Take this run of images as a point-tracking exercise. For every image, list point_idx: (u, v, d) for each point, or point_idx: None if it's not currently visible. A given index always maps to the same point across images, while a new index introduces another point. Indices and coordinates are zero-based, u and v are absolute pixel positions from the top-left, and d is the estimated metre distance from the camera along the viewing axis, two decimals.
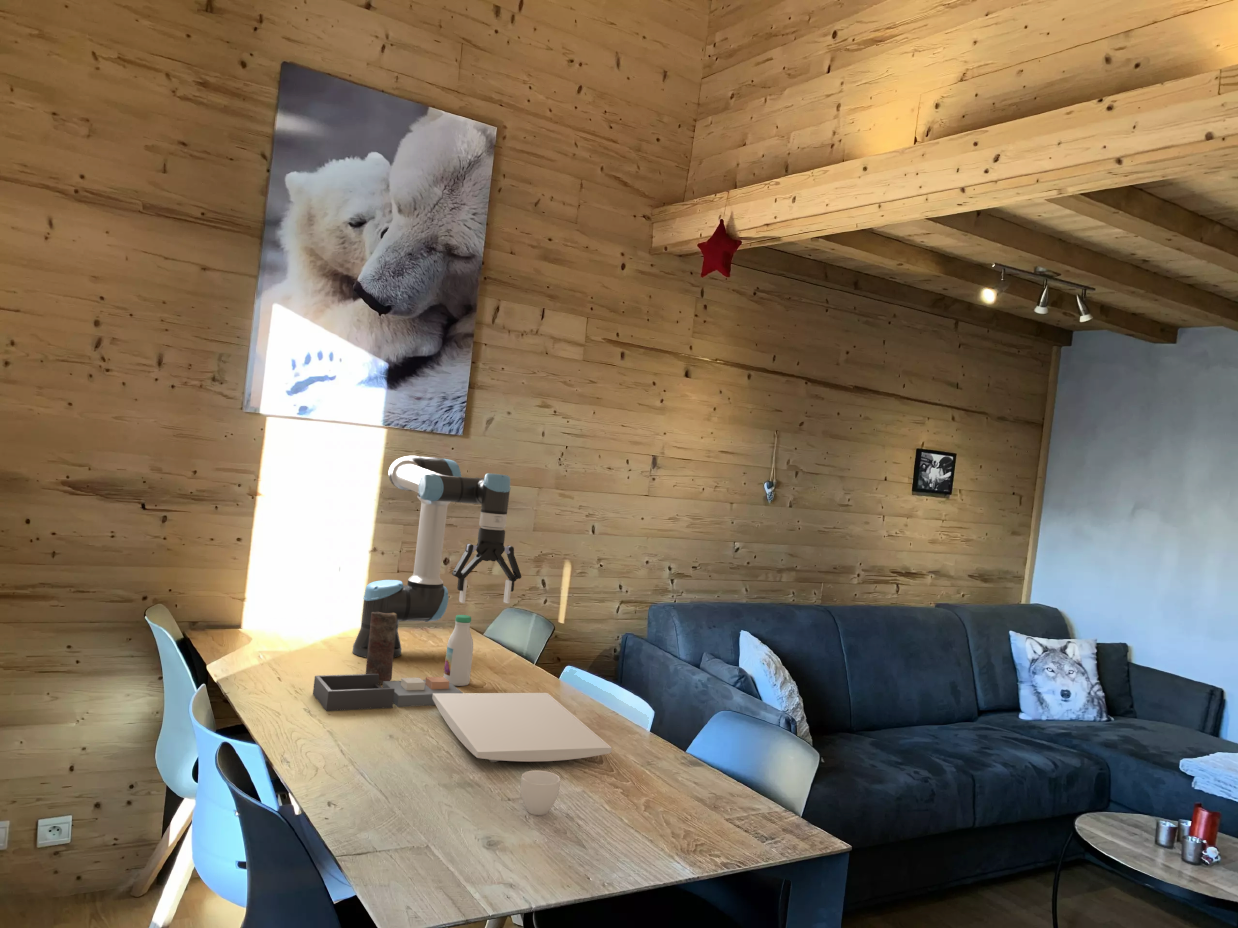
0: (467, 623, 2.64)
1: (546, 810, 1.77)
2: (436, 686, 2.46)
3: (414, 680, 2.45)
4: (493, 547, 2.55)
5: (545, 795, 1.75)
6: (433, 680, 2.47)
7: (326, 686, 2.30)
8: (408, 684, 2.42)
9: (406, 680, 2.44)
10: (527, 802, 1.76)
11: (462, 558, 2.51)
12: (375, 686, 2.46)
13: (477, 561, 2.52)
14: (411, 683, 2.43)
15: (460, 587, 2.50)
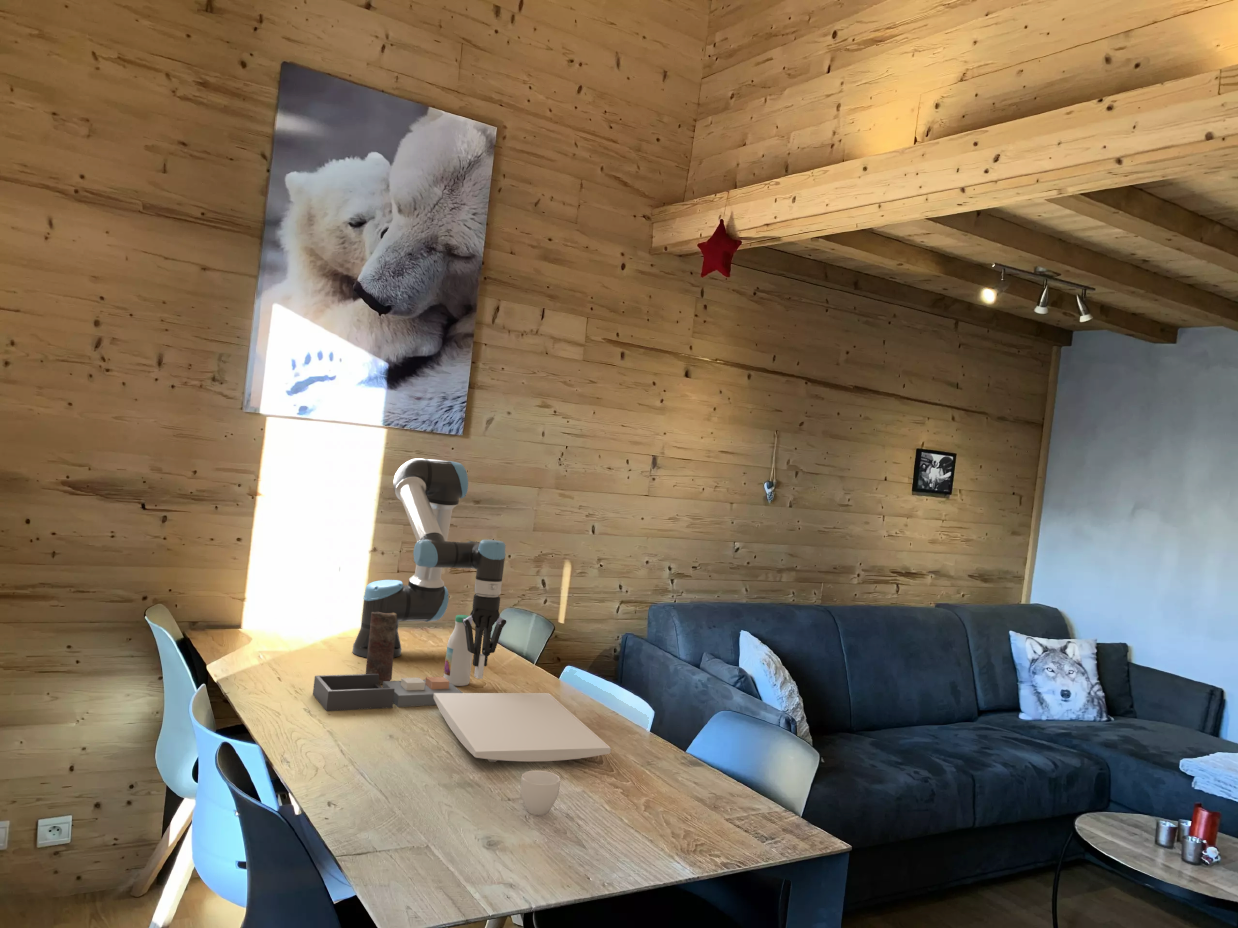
0: None
1: (546, 810, 1.77)
2: (436, 686, 2.46)
3: (414, 680, 2.45)
4: None
5: (545, 795, 1.75)
6: (433, 680, 2.47)
7: (326, 686, 2.30)
8: (408, 684, 2.42)
9: (406, 680, 2.44)
10: (527, 802, 1.76)
11: (467, 634, 2.53)
12: (375, 686, 2.46)
13: (480, 632, 2.53)
14: (411, 683, 2.43)
15: (475, 663, 2.54)
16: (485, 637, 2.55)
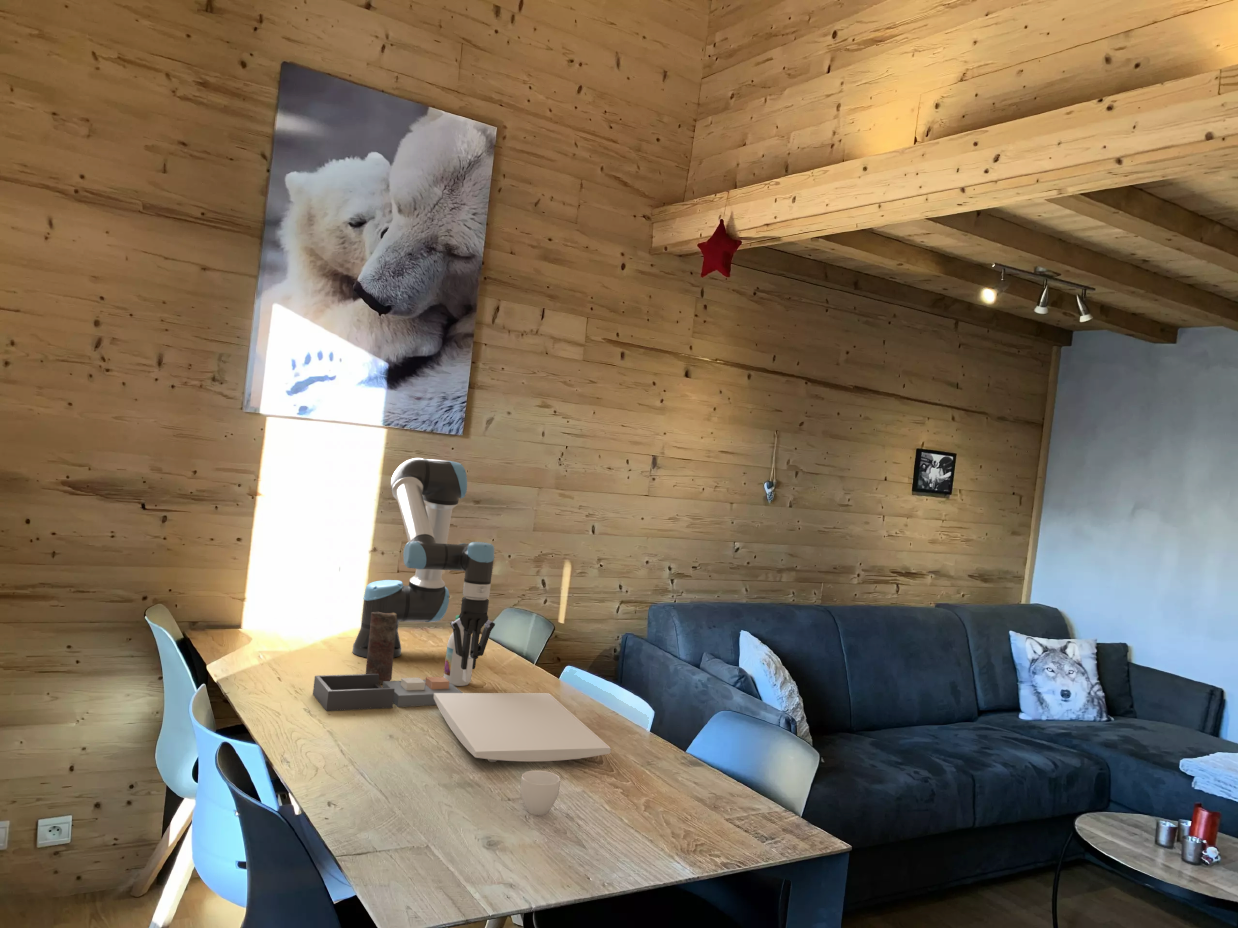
0: None
1: (546, 810, 1.77)
2: (436, 686, 2.46)
3: (414, 680, 2.45)
4: None
5: (545, 795, 1.75)
6: (433, 680, 2.47)
7: (326, 686, 2.30)
8: (408, 684, 2.42)
9: (406, 680, 2.44)
10: (527, 802, 1.76)
11: (455, 637, 2.51)
12: (375, 686, 2.46)
13: (468, 635, 2.52)
14: (411, 683, 2.43)
15: (464, 666, 2.52)
16: (473, 640, 2.54)
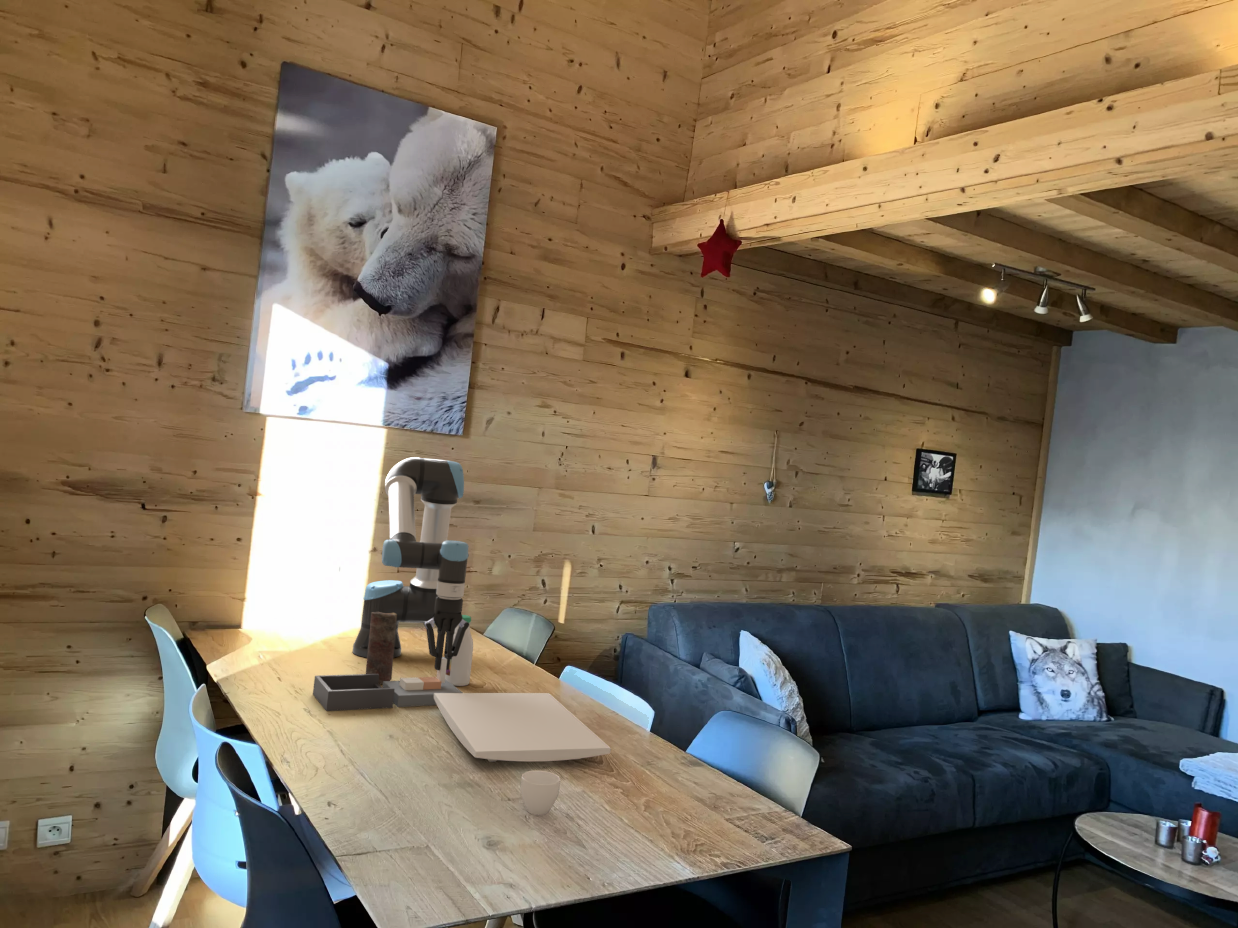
0: None
1: (546, 810, 1.77)
2: (428, 686, 2.45)
3: (413, 680, 2.45)
4: None
5: (545, 795, 1.75)
6: (425, 680, 2.46)
7: (326, 686, 2.30)
8: (407, 684, 2.42)
9: (405, 680, 2.44)
10: (527, 802, 1.76)
11: (428, 637, 2.47)
12: (375, 686, 2.46)
13: (442, 635, 2.48)
14: (410, 683, 2.43)
15: (437, 666, 2.48)
16: (447, 640, 2.50)
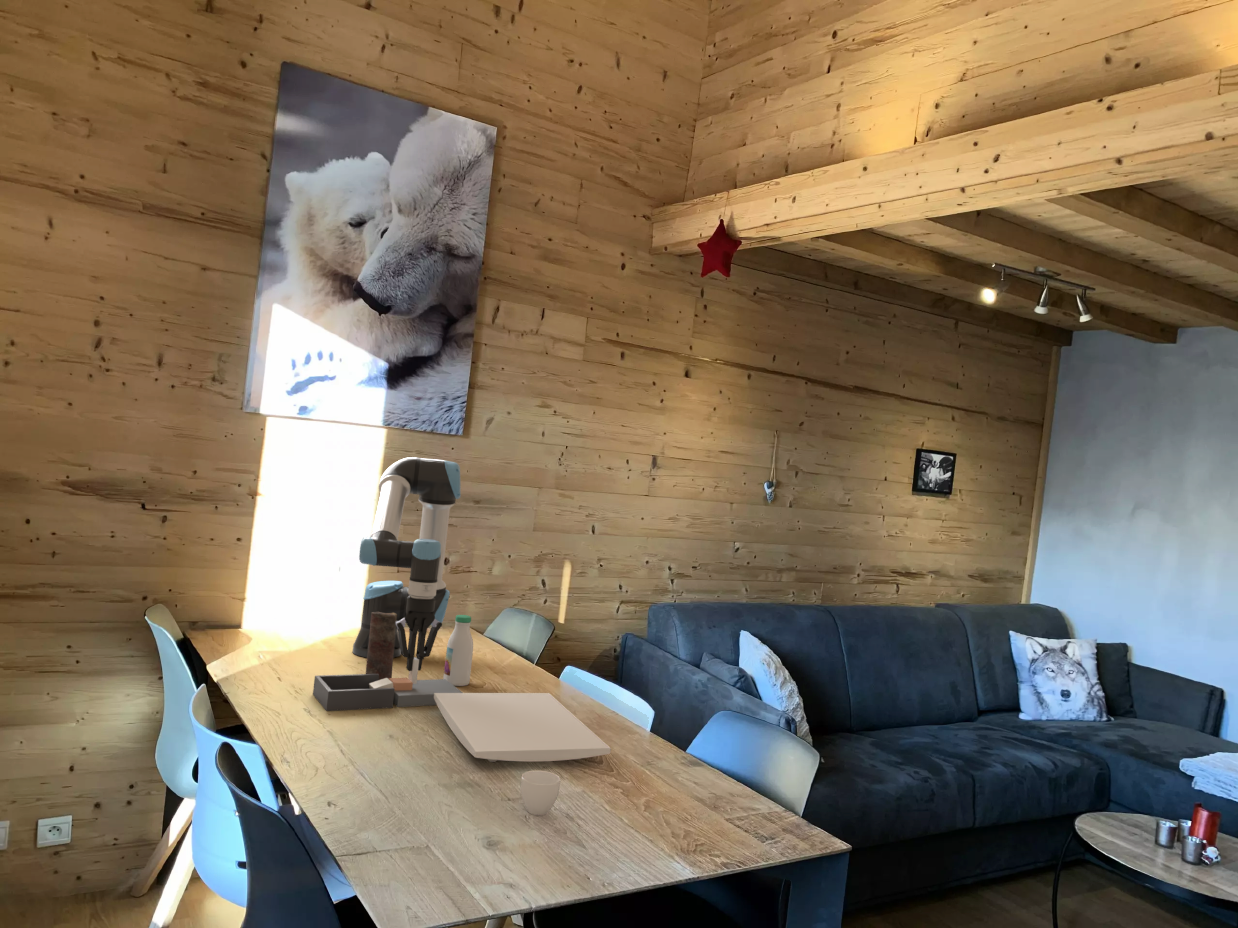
0: (467, 623, 2.64)
1: (546, 810, 1.77)
2: (398, 687, 2.41)
3: (381, 683, 2.41)
4: None
5: (545, 795, 1.75)
6: (396, 681, 2.42)
7: (326, 686, 2.30)
8: None
9: (373, 685, 2.40)
10: (527, 802, 1.76)
11: (400, 637, 2.43)
12: None
13: (414, 635, 2.43)
14: (378, 687, 2.38)
15: (409, 667, 2.44)
16: (419, 640, 2.45)
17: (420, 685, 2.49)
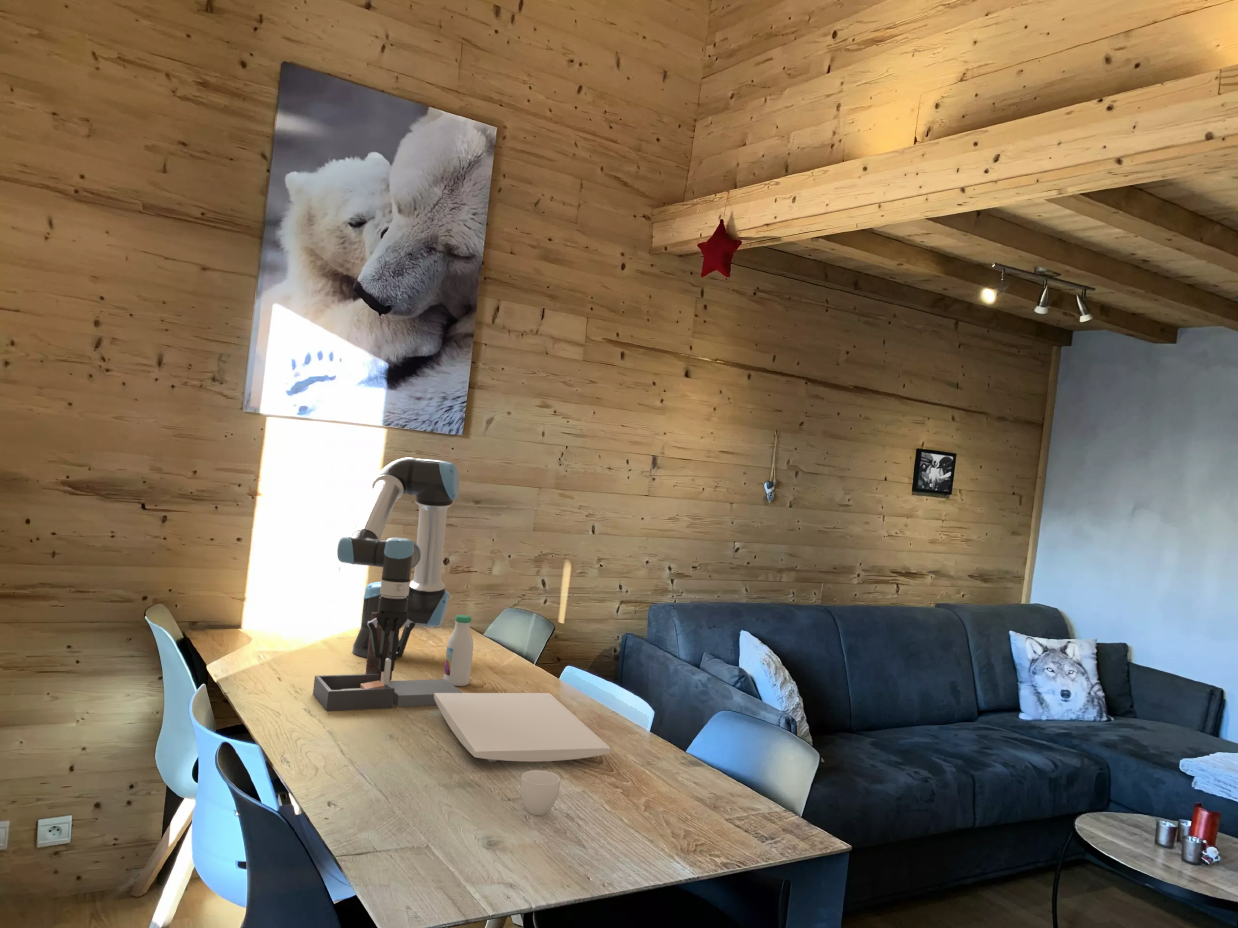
0: (467, 623, 2.64)
1: (546, 810, 1.77)
2: None
3: None
4: None
5: (545, 795, 1.75)
6: (367, 686, 2.38)
7: (326, 686, 2.30)
8: None
9: None
10: (527, 802, 1.76)
11: (371, 638, 2.39)
12: None
13: (386, 635, 2.40)
14: None
15: (381, 668, 2.40)
16: (392, 641, 2.41)
17: (420, 685, 2.49)
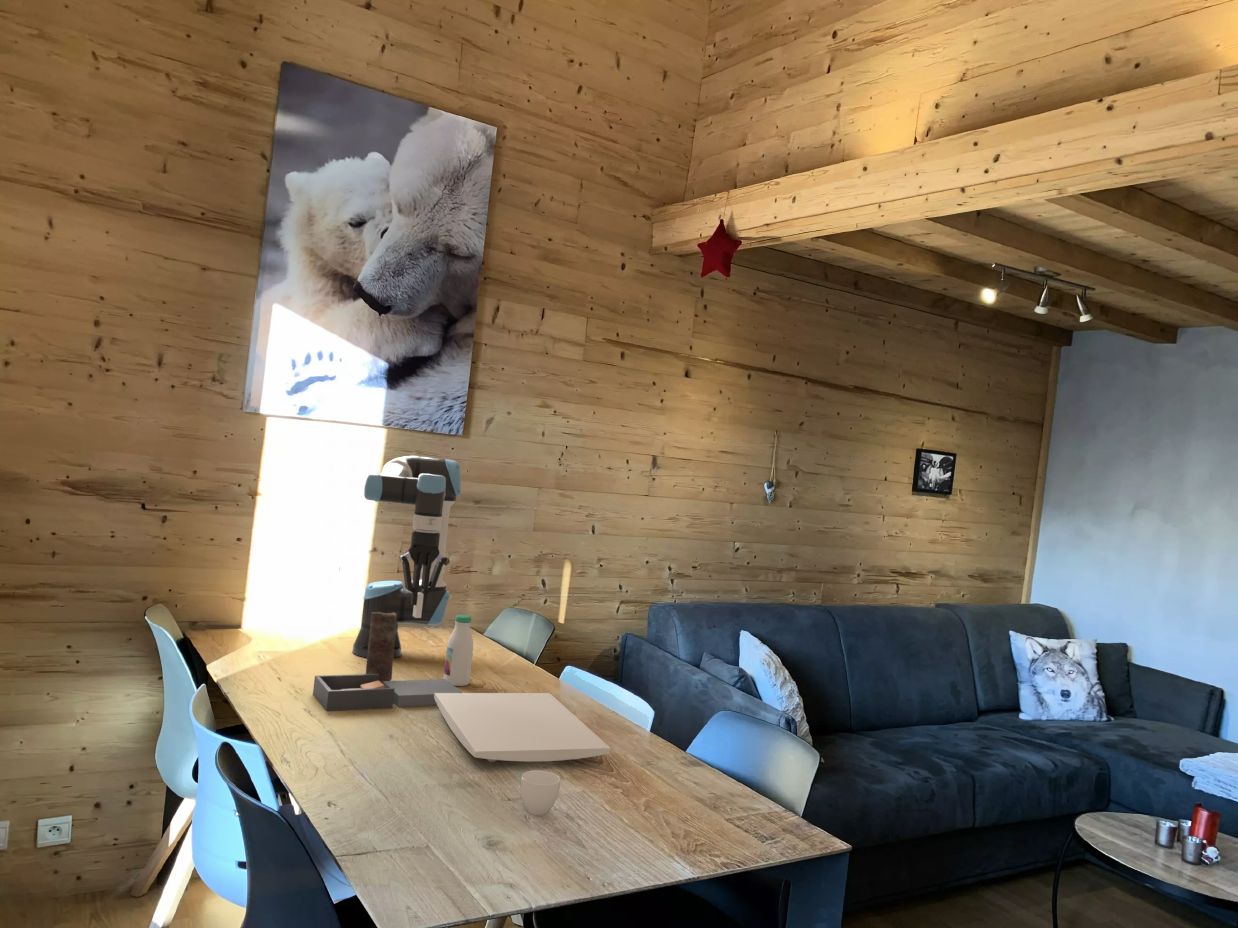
0: (467, 623, 2.64)
1: (546, 810, 1.77)
2: None
3: None
4: None
5: (545, 795, 1.75)
6: (367, 687, 2.38)
7: (326, 686, 2.30)
8: None
9: None
10: (527, 802, 1.76)
11: (404, 571, 2.43)
12: None
13: (418, 569, 2.43)
14: None
15: (413, 601, 2.44)
16: (424, 575, 2.45)
17: (420, 685, 2.49)
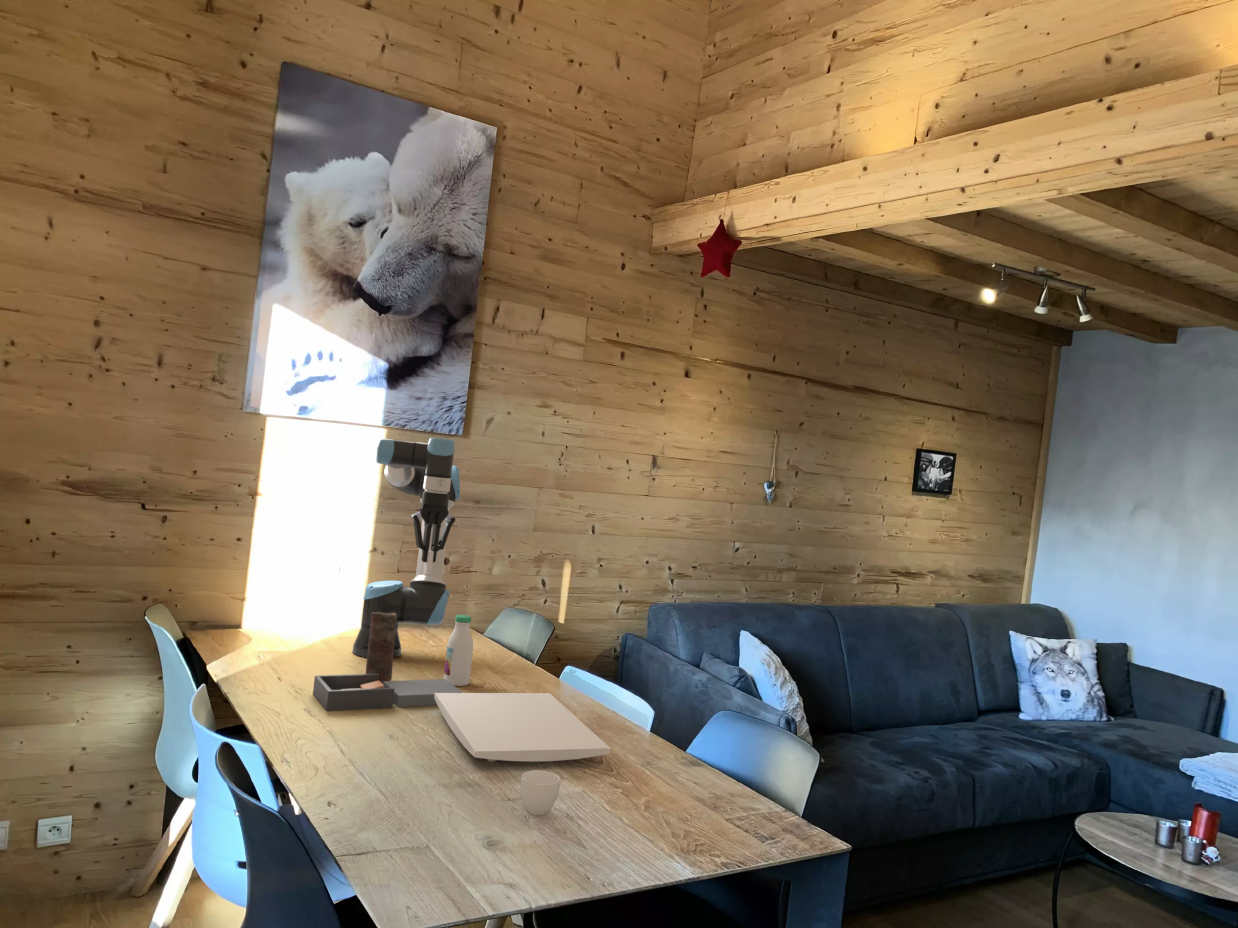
0: (467, 623, 2.64)
1: (546, 810, 1.77)
2: None
3: None
4: None
5: (545, 795, 1.75)
6: (367, 687, 2.38)
7: (326, 686, 2.30)
8: None
9: None
10: (527, 802, 1.76)
11: (415, 530, 2.56)
12: None
13: (429, 528, 2.56)
14: None
15: (424, 559, 2.57)
16: (434, 534, 2.58)
17: (420, 685, 2.49)
